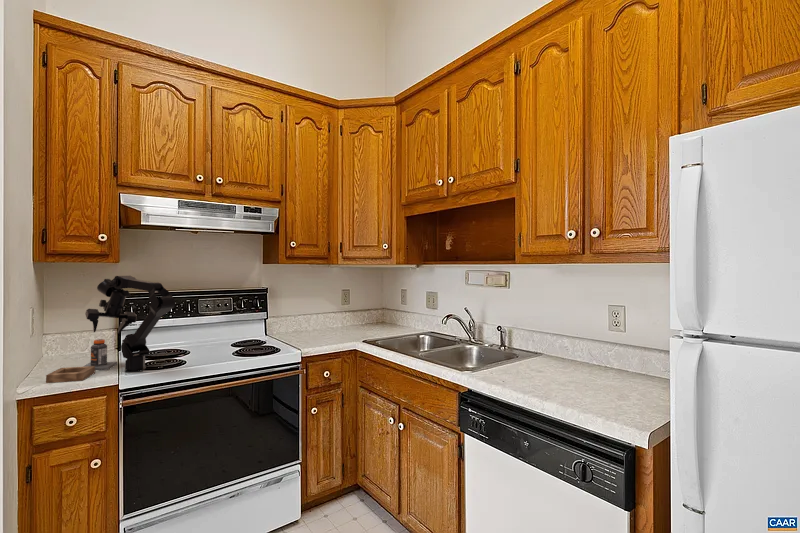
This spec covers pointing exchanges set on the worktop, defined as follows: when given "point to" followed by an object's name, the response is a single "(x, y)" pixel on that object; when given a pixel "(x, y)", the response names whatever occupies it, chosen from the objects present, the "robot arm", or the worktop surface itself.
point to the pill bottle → (99, 353)
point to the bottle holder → (70, 374)
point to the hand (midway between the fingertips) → (106, 332)
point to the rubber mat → (104, 367)
